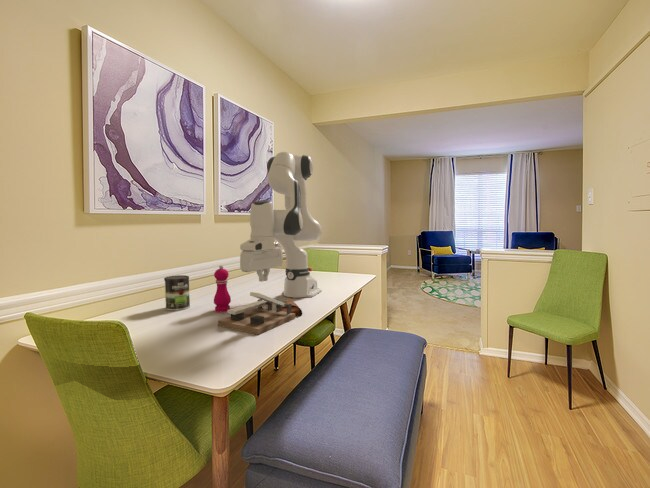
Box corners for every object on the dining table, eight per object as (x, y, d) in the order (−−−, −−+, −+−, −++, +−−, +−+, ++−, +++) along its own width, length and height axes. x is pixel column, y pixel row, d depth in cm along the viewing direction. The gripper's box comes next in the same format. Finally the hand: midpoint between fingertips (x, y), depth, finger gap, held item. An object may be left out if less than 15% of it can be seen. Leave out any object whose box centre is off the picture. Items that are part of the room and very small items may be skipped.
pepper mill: (226, 312, 146) (224, 266, 145) (210, 312, 148) (209, 266, 146) (234, 308, 153) (232, 264, 152) (219, 307, 155) (217, 263, 153)
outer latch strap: (279, 305, 140) (280, 303, 140) (287, 307, 138) (288, 304, 138) (249, 295, 125) (250, 292, 125) (257, 296, 123) (258, 293, 123)
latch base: (257, 311, 148) (257, 298, 148) (295, 318, 138) (295, 304, 137) (218, 325, 129) (217, 310, 129) (258, 334, 119) (258, 318, 119)
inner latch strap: (261, 302, 145) (261, 300, 145) (268, 304, 143) (268, 301, 143) (227, 313, 129) (227, 310, 129) (235, 314, 127) (235, 311, 127)
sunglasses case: (274, 306, 156) (281, 293, 156) (287, 313, 158) (294, 300, 159) (282, 317, 139) (290, 303, 139) (297, 324, 141) (305, 310, 142)
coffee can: (193, 307, 155) (192, 277, 154) (169, 312, 148) (168, 280, 147) (185, 303, 163) (184, 274, 161) (162, 307, 156) (161, 277, 155)
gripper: (273, 242, 137) (274, 276, 138) (236, 245, 120) (237, 284, 121) (286, 242, 134) (287, 277, 135) (250, 246, 117) (251, 286, 118)
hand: (263, 281), depth 128 cm, fingers closed
